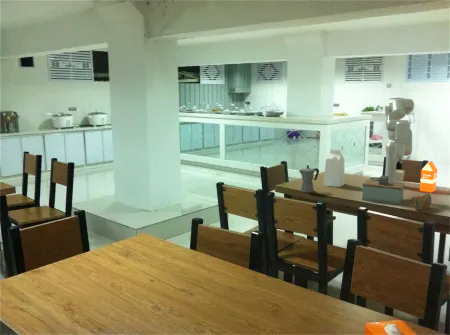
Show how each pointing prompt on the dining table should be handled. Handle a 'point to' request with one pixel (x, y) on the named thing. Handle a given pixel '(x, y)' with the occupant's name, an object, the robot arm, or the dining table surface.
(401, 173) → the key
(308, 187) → the coffeepot
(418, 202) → the tin
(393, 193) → the toolbox
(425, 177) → the orange juice
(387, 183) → the lid
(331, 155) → the milk
